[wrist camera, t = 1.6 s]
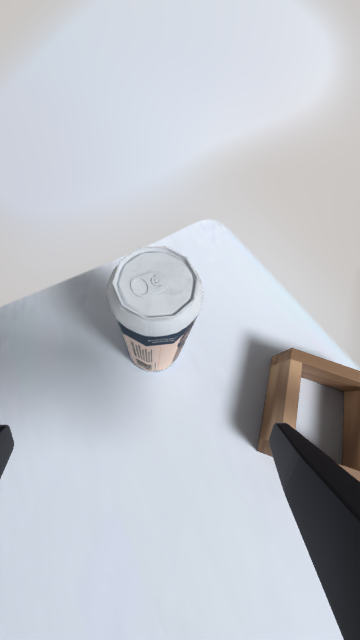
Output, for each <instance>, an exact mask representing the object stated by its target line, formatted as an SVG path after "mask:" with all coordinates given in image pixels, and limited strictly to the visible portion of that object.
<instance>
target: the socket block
mask: <svg viewBox="0 0 360 640" xmlns="http://www.w3.org/2000/svg"><path fill="white" fill-rule="evenodd" d="M301 377H302V378H305V379H308V380H311V381H314V382H317V383H320V384H323V385H326V386H329V387H331V388H334V389H337V390H340V391H343V392H344V418H343V453H342V465H340V464H338V465H340V466H341V467H342V468H343V469H345V470H346V471H347V472H348V473H350V474H351V475H352V476H353V477H355V478H356V479H357V480H358V481H360V371H358V370H355V369H352V368H349V367H346V366H343V365H341V364H338V363H335V362H332V361H329V360H326V359H323V358H320V357H317V356H314V355H311V354H308V353H306V352H303V351H300V350H297V349H294V348H291V349H289V350H286V351H284V352H282V353H280V354H277V355H275V356H273V357H272V361H271V367H270V373H269V379H268V386H267V392H266V398H265V404H264V410H263V417H262V423H261V429H260V435H259V442H258V448H257V451H259V452H261V453H264V454H267V455H269V456H272V457H273V455H272V452H271V448H270V445H269V437H270V434H271V431H272V428H273V425H274V424H275V423H277V422H284V423H287V424H289V425H290V426H291V427H293V428H294V429H295V428H296V418H297V409H298V399H299V390H300V380H301Z"/></svg>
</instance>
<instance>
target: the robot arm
mask: <svg viewBox="0 0 360 640" xmlns="http://www.w3.org/2000/svg"><path fill="white" fill-rule="evenodd" d="M269 445H270V448H271V452H272V455H273V458H274V461H275V465H276V468H277V471H278V475H279V478H280V481H281V484H282V487H283V490H284V493H285V496H286V498H287V501H288V503H289V506H290V508H291V511H292V513H293V516H294V518H295V521H296V523H297V525H298V528H299V530H300V533H301V535H302V538H303V540H304V543H305V545H306V548H307V550H308V552H309V555H310V557H311V560H312V562H313V565H314V567H315V570H316V572H317V575H318V577H319V580H320V582H321V584H322V587H323V589H324V592H325V594H326V597H327V599H328V602H329V604H330V607H331V609H332V611H333V614H334V616H335V619H336V621H337V624H338V626H339V629H340V631H341V634H342V636H343V639H344V640H360V481H358V480H357V479H356V478H355V477H353V476H352V475H351V474H350V473H348V472H347V471H346V470H345V469H343V468H342V467H341V466H340V465H338V464H337V463H336V462H335V461H333V460H332V459H331V458H330V457H329V456H327V455H326V454H325V453H324V452H322V451H321V450H320V449H319V448H317V447H316V446H315V445H314V444H312V443H311V442H310V441H309V440H307V439H306V438H305V437H304V436H302V435H301V434H300V433H299V432H297V431H296V430H295V429H294V428H293V427H291V426H290V425H289V424H287V423H284V422H277V423H275V424H274V425H273V428H272V431H271V434H270V437H269ZM13 447H14V440H13V437H12V434H11V430H10V427H9V426H8V425H0V478H1V476H2V474H3V471H4V469H5V467H6V464H7V462H8V460H9V458H10V455H11V453H12V451H13Z"/></svg>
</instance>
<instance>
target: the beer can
mask: <svg viewBox="0 0 360 640" xmlns="http://www.w3.org/2000/svg"><path fill="white" fill-rule="evenodd" d="M107 299H108V303H109V307H110V309H111V311H112V313H113V314H114V316H115V318H116V320H117V322H118V325H119V327H120V330H121V333H122V335H123V338H124V340H125V343H126V345H127V348H128V352H129V355H130V358H131V359H132V361H133V363H134V364H135V365H136V366H138V367H139V368H141V369H143V370H145V371H149V372H157V371H162V370H165V369H167V368H168V367H170V366H171V365H172V364H173V363H174V362H175V360H176V359H177V357H178V355H179V353H180V351H181V349H182V347H183V345H184V343H185V341H186V339H187V337H188V334H189V332H190V330H191V328H192V326H193V324H194V322H195V320H196V318H197V316H198V314H199V311H200V309H201V306H202V301H203V287H202V283H201V280H200V278H199V276H198V274H197V273H196V271H195V270H194V268H193V267H192V265H191V264H190V262H189V260H188V258H187V257H185V256H183V255H181V254H179V253H177V252H175V251H173V250H171V249H169V248H168V247H166V246H158V247H140V248H138V249H136V250H135V251H133V252H132V253H130V254H129V255H127V256H126V257H124V258H123V259H121V260H120V261H119V264H118V265H117V267H116V268H115V269H114V271H113V272H112V274H111V277H110V279H109V282H108V285H107Z"/></svg>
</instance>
